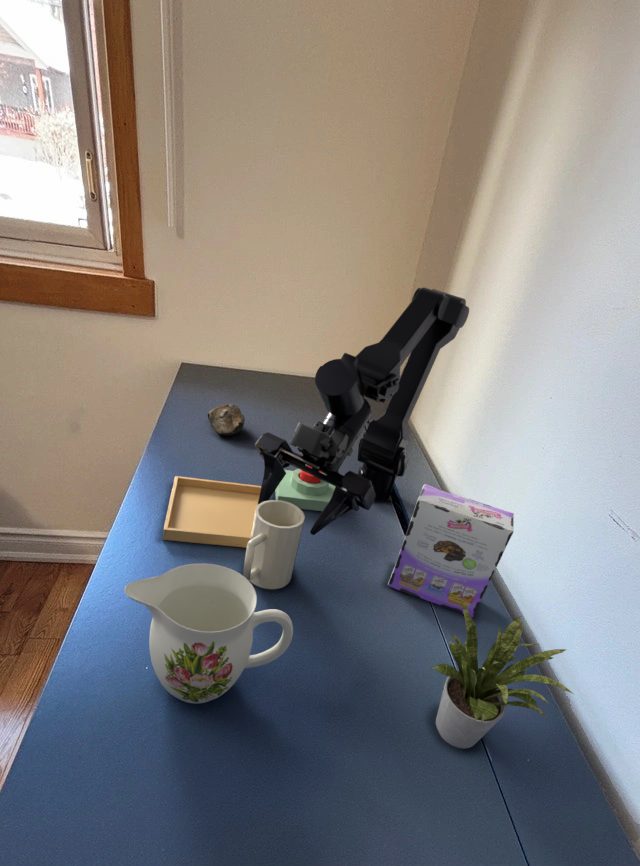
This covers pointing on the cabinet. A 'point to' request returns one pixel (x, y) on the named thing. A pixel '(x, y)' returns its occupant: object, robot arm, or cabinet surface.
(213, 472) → the cabinet surface
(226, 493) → the stand tray
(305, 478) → the switch button
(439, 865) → the cabinet surface
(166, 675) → the pitcher
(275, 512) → the tall mug
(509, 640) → the house plant
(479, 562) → the candy box
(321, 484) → the switch base
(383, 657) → the cabinet surface
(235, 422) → the grey lumpy stone
